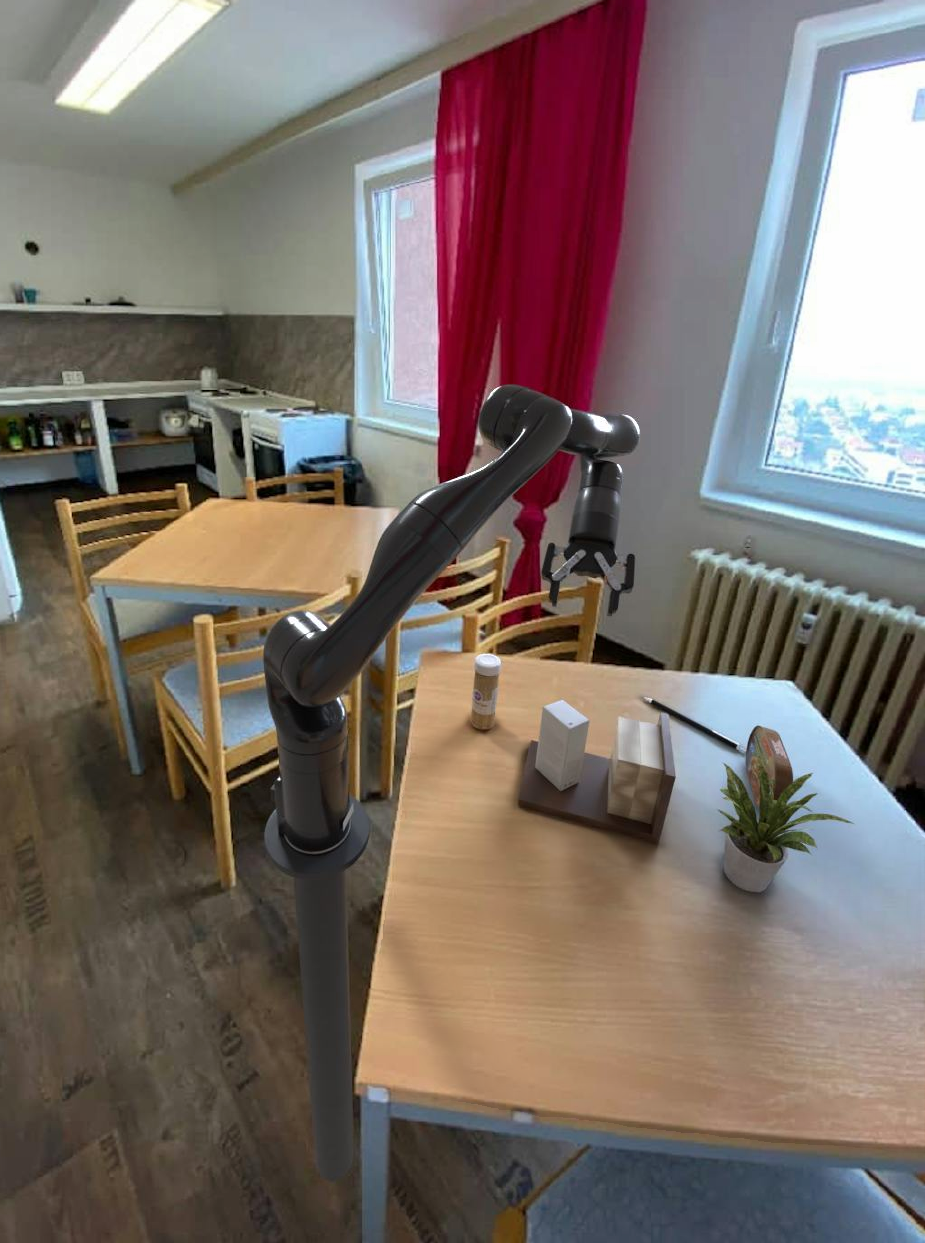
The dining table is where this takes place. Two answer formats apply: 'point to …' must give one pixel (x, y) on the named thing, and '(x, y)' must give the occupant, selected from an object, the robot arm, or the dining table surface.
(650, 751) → the book rack
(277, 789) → the robot arm
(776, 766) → the tin
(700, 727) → the pen
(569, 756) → the cosmetic box
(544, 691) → the dining table surface
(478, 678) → the sprinkles bottle
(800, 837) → the house plant
